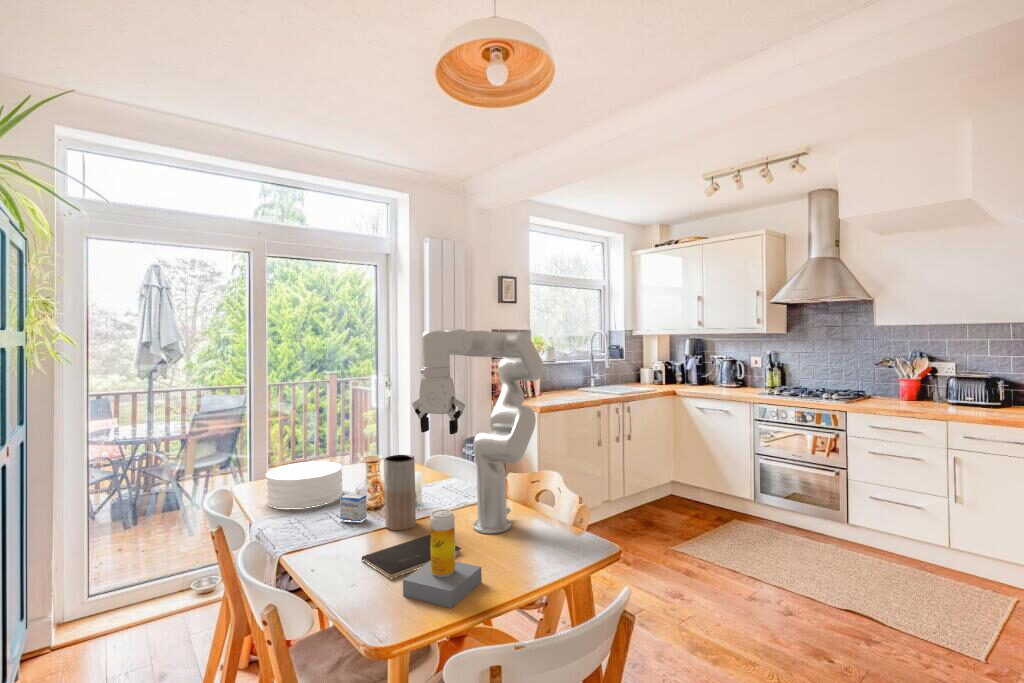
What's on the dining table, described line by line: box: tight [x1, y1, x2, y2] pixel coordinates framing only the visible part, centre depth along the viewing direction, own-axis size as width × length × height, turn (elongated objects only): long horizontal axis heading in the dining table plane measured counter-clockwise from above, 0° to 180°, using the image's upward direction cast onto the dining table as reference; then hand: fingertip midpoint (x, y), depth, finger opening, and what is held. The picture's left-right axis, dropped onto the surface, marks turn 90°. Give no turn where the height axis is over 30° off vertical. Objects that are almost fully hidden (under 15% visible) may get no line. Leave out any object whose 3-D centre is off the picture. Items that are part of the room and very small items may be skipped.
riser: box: [402, 560, 483, 609], centre depth 131 cm, size 14×14×4 cm
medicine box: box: [339, 493, 368, 521], centre depth 181 cm, size 8×4×9 cm, turn 76°
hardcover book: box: [361, 534, 462, 580], centre depth 150 cm, size 16×23×2 cm
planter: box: [383, 454, 417, 531], centre depth 175 cm, size 10×10×23 cm
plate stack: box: [265, 461, 343, 508], centre depth 207 cm, size 28×28×12 cm
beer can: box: [429, 509, 456, 577], centre depth 131 cm, size 6×6×15 cm
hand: (439, 432), depth 151 cm, fingers open, 9 cm apart
